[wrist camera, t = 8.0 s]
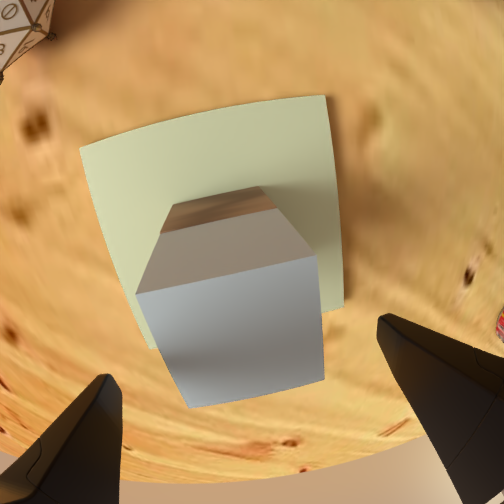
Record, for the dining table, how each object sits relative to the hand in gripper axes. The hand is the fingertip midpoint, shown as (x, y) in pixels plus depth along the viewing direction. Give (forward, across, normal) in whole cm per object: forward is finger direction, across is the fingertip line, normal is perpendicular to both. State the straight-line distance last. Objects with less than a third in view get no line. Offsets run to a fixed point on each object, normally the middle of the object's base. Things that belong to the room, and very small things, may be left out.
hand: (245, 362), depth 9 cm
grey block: (+6, 0, 0) cm, 6 cm away
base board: (+13, 0, 0) cm, 13 cm away
